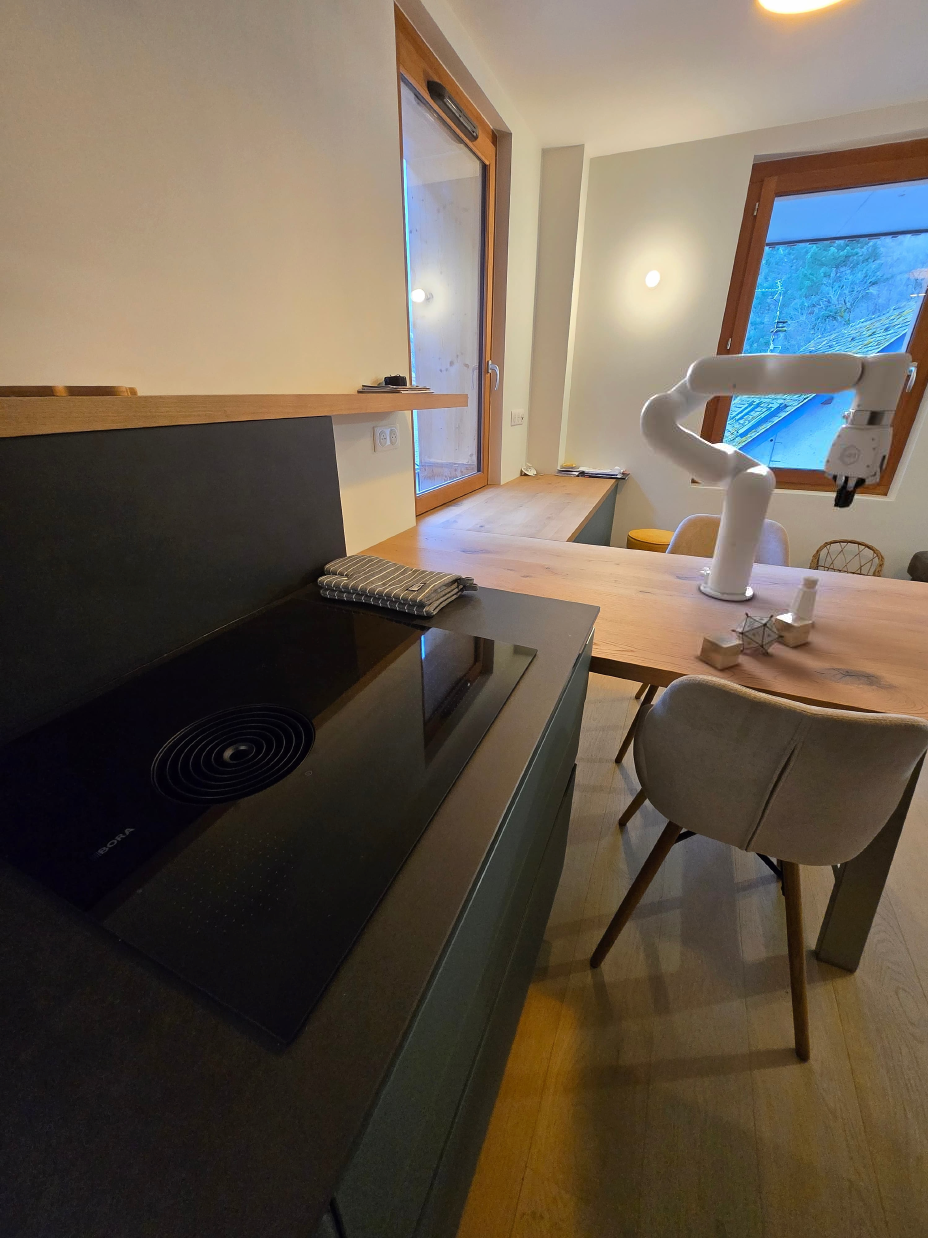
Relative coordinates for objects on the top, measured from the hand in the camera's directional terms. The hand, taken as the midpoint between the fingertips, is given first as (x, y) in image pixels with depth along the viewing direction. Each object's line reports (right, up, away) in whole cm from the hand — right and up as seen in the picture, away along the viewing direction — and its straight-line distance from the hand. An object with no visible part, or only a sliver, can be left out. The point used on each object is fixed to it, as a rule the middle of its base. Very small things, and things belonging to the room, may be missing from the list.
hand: (841, 506), depth 111 cm
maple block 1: (-34, -34, -11) cm, 49 cm away
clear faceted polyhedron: (-25, -32, -7) cm, 41 cm away
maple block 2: (-15, -30, -4) cm, 34 cm away
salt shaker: (-7, -26, +4) cm, 27 cm away
